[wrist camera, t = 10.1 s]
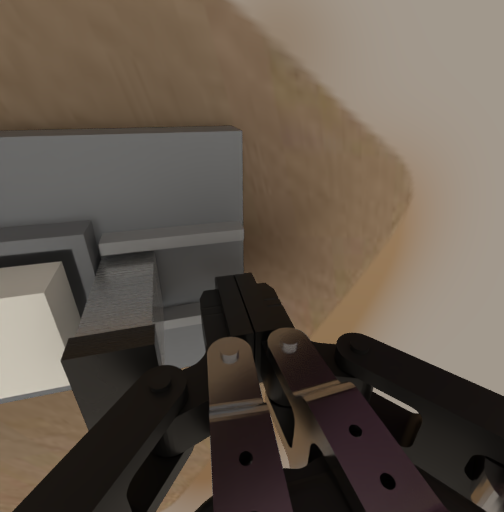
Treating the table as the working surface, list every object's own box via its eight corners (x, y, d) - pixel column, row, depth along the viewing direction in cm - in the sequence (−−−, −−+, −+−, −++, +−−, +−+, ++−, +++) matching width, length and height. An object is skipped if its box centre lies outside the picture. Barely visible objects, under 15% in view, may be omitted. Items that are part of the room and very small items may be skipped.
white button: (-23, 363, 12) (-53, 409, 10) (-75, 276, 10) (-122, 314, 8) (89, 344, 13) (78, 383, 11) (61, 261, 11) (43, 292, 9)
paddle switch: (115, 315, 14) (92, 439, 9) (99, 253, 12) (60, 360, 7) (165, 307, 14) (169, 421, 9) (156, 246, 13) (154, 344, 8)
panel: (-120, 395, 15) (-184, 467, 12) (-341, 138, 10) (-557, 159, 7) (236, 332, 19) (250, 374, 16) (231, 125, 14) (251, 135, 11)
